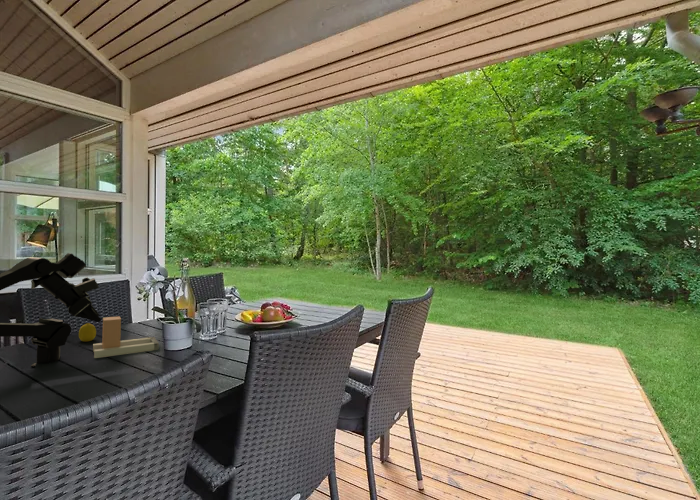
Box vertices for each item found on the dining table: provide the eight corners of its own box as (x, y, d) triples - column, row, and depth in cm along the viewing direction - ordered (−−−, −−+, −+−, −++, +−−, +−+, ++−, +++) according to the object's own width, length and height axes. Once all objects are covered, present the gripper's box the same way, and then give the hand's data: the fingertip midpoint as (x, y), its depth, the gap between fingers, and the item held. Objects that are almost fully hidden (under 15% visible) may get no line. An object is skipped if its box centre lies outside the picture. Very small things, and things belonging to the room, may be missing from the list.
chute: (94, 361, 120) (94, 351, 120) (92, 353, 128) (93, 344, 128) (158, 352, 132) (158, 343, 132) (153, 345, 140) (153, 336, 140)
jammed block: (102, 355, 124) (103, 320, 123) (102, 351, 128) (102, 317, 127) (120, 352, 127) (121, 319, 126) (118, 348, 131) (119, 316, 130)
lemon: (88, 345, 136) (89, 324, 136) (74, 345, 137) (75, 324, 136) (99, 341, 142) (99, 321, 142) (85, 340, 142) (86, 320, 142)
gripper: (83, 273, 114) (122, 305, 121) (81, 268, 129) (116, 297, 136) (50, 299, 109) (92, 331, 116) (52, 291, 124) (89, 320, 131)
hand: (99, 318), depth 125 cm, fingers open, 9 cm apart
